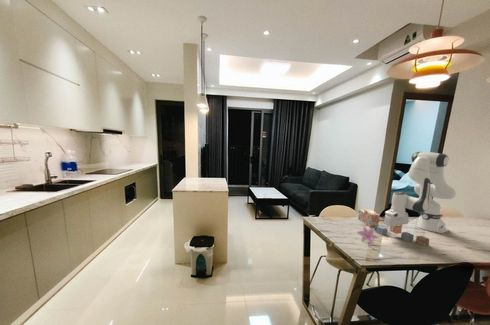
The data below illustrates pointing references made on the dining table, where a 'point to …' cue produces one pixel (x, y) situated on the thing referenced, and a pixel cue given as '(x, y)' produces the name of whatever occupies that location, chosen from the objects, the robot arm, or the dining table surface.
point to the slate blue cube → (381, 230)
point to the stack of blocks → (369, 218)
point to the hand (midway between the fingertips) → (395, 229)
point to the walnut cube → (422, 240)
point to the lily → (367, 235)
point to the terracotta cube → (396, 229)
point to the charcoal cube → (407, 236)
